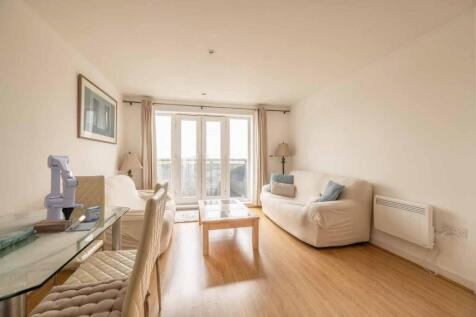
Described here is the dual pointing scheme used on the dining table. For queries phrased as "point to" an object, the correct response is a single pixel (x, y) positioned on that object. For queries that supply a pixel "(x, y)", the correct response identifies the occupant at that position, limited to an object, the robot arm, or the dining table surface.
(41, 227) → the brown wooden tray
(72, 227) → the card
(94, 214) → the medicine box
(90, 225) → the mat
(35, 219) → the dining table surface
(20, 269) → the dining table surface
